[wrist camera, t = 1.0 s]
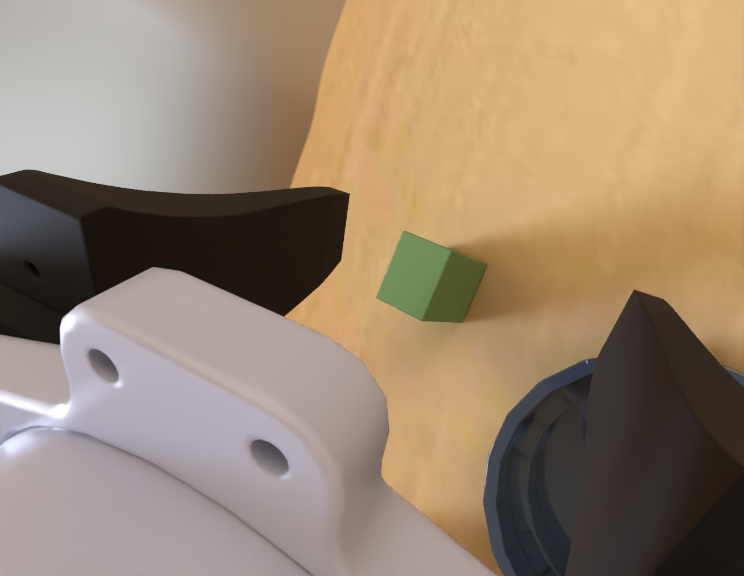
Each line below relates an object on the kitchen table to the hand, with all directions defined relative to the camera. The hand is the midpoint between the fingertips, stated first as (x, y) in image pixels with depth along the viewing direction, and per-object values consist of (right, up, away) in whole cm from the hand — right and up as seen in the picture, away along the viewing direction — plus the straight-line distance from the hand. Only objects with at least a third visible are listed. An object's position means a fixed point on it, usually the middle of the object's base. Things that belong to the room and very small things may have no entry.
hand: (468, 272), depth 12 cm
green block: (+2, 0, +16) cm, 16 cm away
